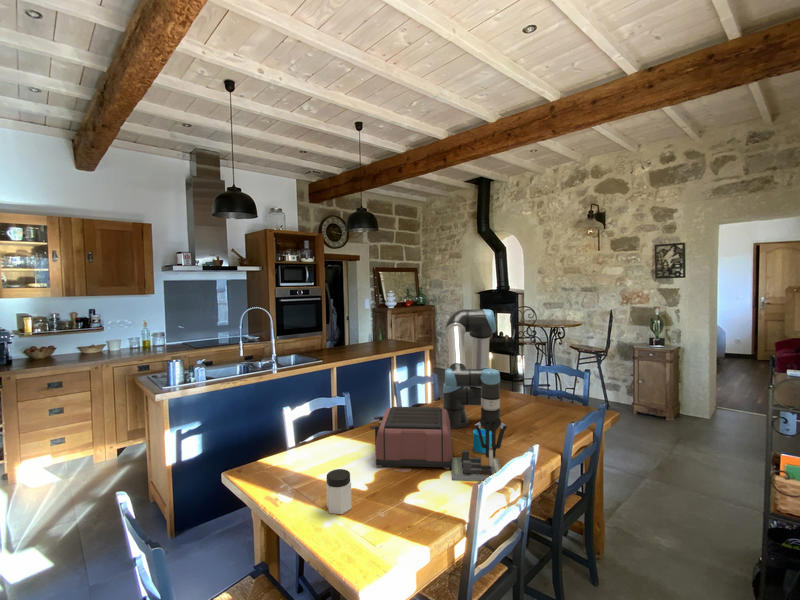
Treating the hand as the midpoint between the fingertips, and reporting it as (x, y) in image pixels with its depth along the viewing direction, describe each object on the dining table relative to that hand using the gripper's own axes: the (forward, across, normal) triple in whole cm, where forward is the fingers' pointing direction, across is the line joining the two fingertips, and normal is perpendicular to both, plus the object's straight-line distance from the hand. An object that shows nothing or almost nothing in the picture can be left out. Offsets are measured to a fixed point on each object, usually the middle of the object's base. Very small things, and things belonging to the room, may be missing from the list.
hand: (490, 464), depth 166 cm
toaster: (+4, -33, +16) cm, 37 cm away
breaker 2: (+1, -10, -5) cm, 11 cm away
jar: (+3, -56, -30) cm, 64 cm away
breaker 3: (+1, -2, 0) cm, 3 cm away
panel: (+3, -6, 0) cm, 7 cm away
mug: (+3, 0, +23) cm, 23 cm away
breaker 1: (+1, -10, +5) cm, 11 cm away
